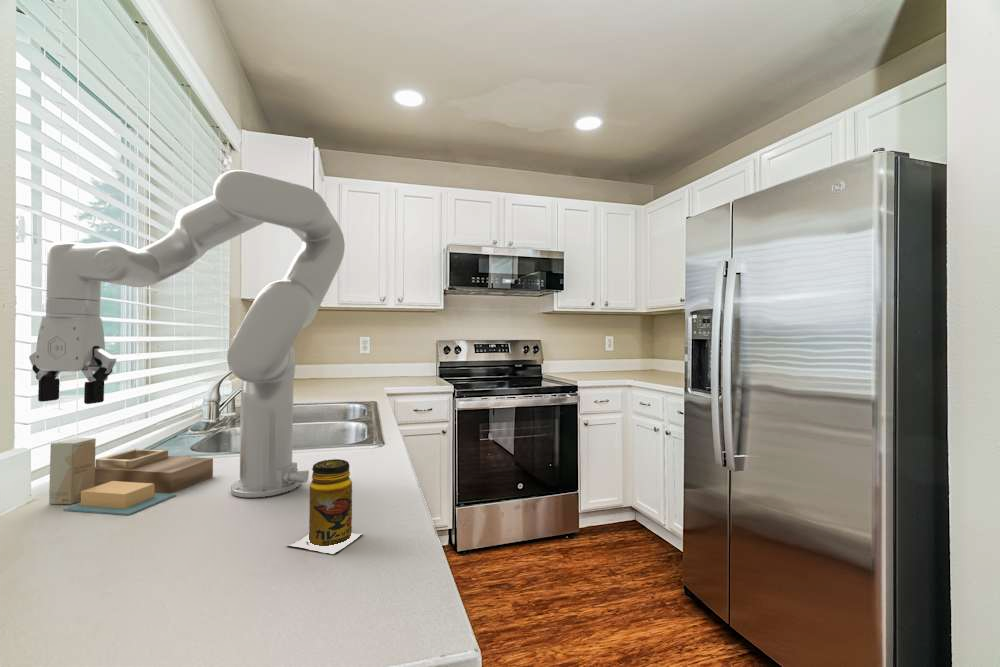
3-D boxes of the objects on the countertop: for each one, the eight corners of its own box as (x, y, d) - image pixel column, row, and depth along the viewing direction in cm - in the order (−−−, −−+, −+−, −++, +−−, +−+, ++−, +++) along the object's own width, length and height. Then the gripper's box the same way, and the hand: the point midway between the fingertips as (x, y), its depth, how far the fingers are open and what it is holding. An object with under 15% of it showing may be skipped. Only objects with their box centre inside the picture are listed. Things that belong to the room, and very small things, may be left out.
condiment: (334, 556, 68) (335, 471, 68) (285, 547, 70) (286, 465, 70) (364, 535, 75) (365, 458, 75) (318, 528, 77) (319, 454, 77)
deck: (212, 476, 104) (213, 451, 104) (171, 493, 93) (171, 465, 93) (139, 472, 106) (139, 447, 106) (90, 488, 95) (90, 460, 95)
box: (71, 504, 86) (71, 443, 86) (47, 504, 86) (48, 443, 86) (96, 495, 92) (96, 437, 92) (74, 494, 92) (74, 436, 92)
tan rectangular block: (125, 494, 84) (125, 508, 84) (154, 483, 90) (154, 496, 90) (80, 491, 85) (80, 505, 85) (112, 481, 91) (112, 494, 91)
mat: (176, 495, 92) (176, 494, 92) (128, 515, 82) (128, 513, 82) (116, 491, 93) (116, 490, 93) (63, 510, 83) (63, 508, 83)
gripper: (11, 307, 86) (8, 402, 86) (94, 309, 84) (91, 406, 84) (55, 310, 94) (52, 397, 94) (133, 311, 91) (130, 401, 91)
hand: (71, 401), depth 89 cm, fingers open, 9 cm apart
